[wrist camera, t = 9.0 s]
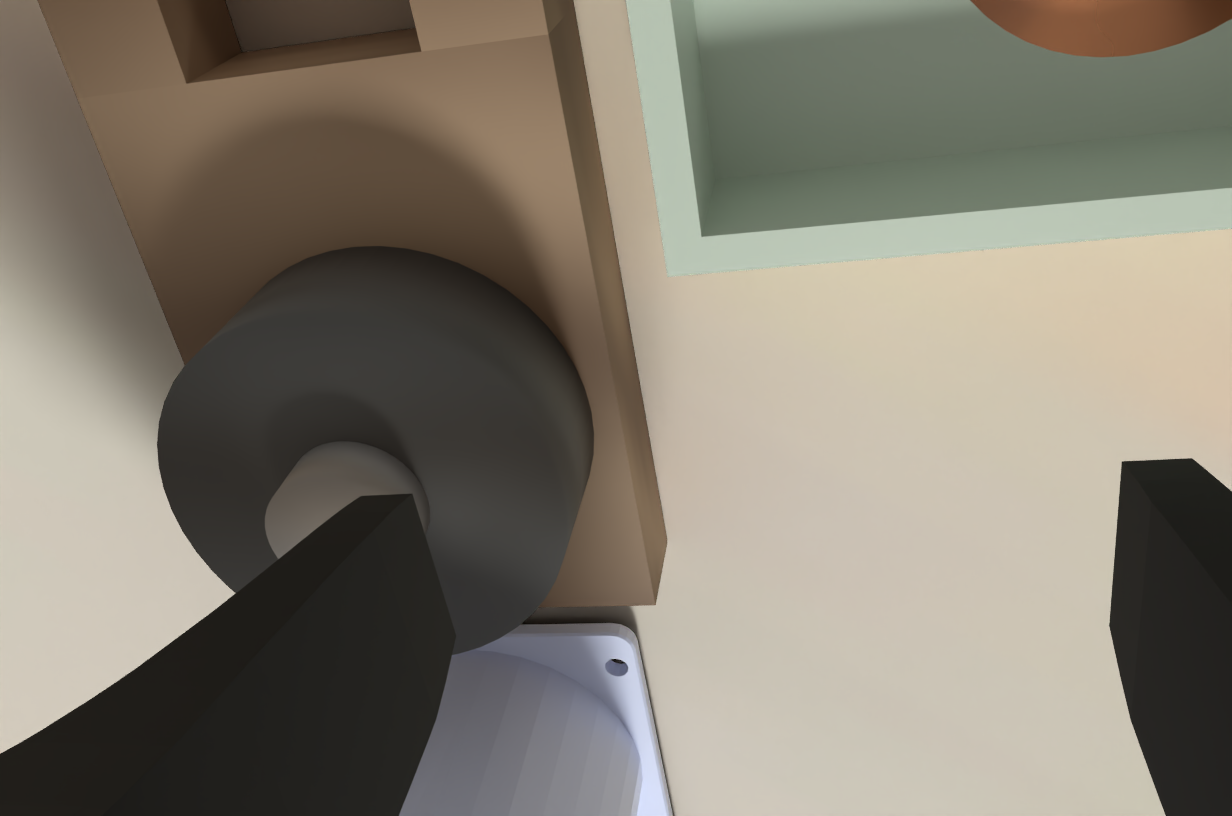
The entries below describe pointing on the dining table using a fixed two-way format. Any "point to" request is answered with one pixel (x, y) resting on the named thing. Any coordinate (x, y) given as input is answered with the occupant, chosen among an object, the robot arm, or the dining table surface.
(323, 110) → the tensioner board
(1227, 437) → the dining table surface
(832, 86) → the tray
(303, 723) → the robot arm
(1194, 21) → the lock pin
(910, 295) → the dining table surface
